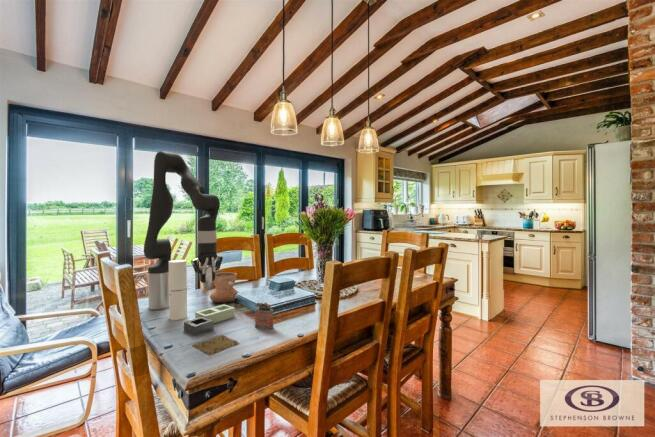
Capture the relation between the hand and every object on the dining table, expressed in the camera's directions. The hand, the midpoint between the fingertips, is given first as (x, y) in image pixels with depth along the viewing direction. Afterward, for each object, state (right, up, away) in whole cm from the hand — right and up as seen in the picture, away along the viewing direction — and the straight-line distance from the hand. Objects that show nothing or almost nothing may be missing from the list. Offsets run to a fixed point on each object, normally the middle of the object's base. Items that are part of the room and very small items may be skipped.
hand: (207, 281), depth 132 cm
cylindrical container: (-15, -17, +6) cm, 24 cm away
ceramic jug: (-3, -16, +30) cm, 35 cm away
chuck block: (0, -17, -9) cm, 20 cm away
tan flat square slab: (+11, -18, -22) cm, 31 cm away
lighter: (+25, -18, -6) cm, 31 cm away
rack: (+2, -17, +3) cm, 17 cm away
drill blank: (0, -3, 0) cm, 3 cm away
